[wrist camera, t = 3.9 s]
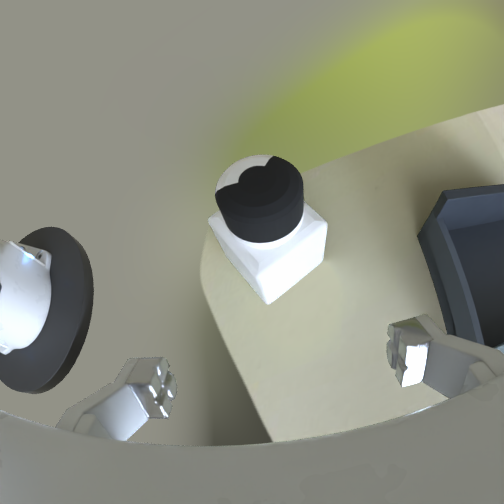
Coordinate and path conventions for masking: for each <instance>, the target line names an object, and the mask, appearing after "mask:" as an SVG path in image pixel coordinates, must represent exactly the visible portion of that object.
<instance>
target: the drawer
mask: <svg viewBox="0 0 504 504" xmlns="http://www.w3.org/2000/svg"><path fill="white" fill-rule="evenodd" d="M417 237H418V240H419V243H420V245H421V248H422V251H423V253H424V256H425V259H426V262H427V265H428V268H429V271H430V274H431V277H432V280H433V283H434V286H435V290H436V293H437V296H438V300H439V303H440V307H441V310H442V314H443V318H444V322H445V326H446V330H447V334H448V335H449V334H450V335H453V336H456V337H459V338H463V339H466V340H469V341H472V342H475V343H479V344H482V345H485V346H488V347H492V348H495V349H498V350H500V351H501V352H502V353H503V354H504V184H501V185H491V186H481V187H472V188H463V189H454V190H445V191H443V192H442V194H441V195H440V197H439V199H438V201H437V203H436V205H435V206H434V208H433V210H432V212H431V213H430V215H429V217H428V219H427V220H426V222H425V224H424V225H423V227H422V229H421V231H420V232H419V234H418V235H417Z"/></svg>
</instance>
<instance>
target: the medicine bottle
mask: <svg viewBox="0 0 504 504" xmlns="http://www.w3.org/2000/svg"><path fill="white" fill-rule="evenodd" d="M215 198H216V202H217V205H218V207H219V209H220V210H219V211H217V212H216V213H214V214H213V215H212V216H210V217H209V218H208V222H209V224H210V226H211V228H212V230H213V232H214V234H215V236H216V238H217V240H218V242H219V243H220V245H221V247H222V249H223V251H224V253H225V255H226V257H227V258H228V259H229V260H230V262H231V263H232V264H233V265H234V266H235V268H236V269H237V270H238V271H239V272H240V274H241V275H242V276H243V277H244V278H245V280H246V281H247V282H248V283H249V284H250V286H251V287H252V288H253V289H254V290H255V292H256V293H257V294H258V295H259V296H260V298H261V299H262V300H263V301H264V302H265V303H266V304H271V303H272V302H273V301H274V300H276V299H277V298H278V297H279V296H281V295H282V294H283V293H284V292H286V291H287V290H288V289H289V288H291V287H292V286H293V285H294V284H296V283H297V282H298V281H299V280H301V279H302V278H303V277H304V276H305V275H307V274H308V273H309V272H310V271H312V270H313V269H314V268H315V267H316V266H318V265H319V264H320V263H321V262H322V261H323V256H324V248H325V241H326V233H327V222H326V220H324V219H323V218H322V217H321V216H320V215H319V214H318V213H317V212H316V211H314V210H313V209H312V208H311V207H310V206H309V205H308V204H307V203H305V202H304V194H303V180H302V177H301V175H300V173H299V172H298V170H297V169H296V168H295V167H294V166H293V165H292V164H291V163H289V162H288V161H286V160H284V159H282V158H279V157H276V156H272V155H254V156H249V157H246V158H243V159H241V160H239V161H237V162H235V163H234V164H232V165H231V166H229V168H227V170H226V171H225V172H224V173H223V174H222V175H221V177H220V178H219V180H218V182H217V185H216V189H215Z"/></svg>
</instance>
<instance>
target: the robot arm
mask: <svg viewBox="0 0 504 504" xmlns="http://www.w3.org/2000/svg"><path fill="white" fill-rule="evenodd" d="M51 258H52V256H51V253H49V252H47V251H45V250H42V249H38V248H34V247H31V246H27V245H24V244H20V243H17V242H13V241H8V242H6V241H4V240H0V352H1V353H3V354H5V355H6V354H8V353H10V352H11V351H12V350H13V349H22V348H25V347H27V346H29V345H30V344H31V343H32V342H33V341H34V340H35V339H36V338H37V336H38V335H39V333H40V331H41V330H42V328H43V326H44V323H45V321H46V318H47V315H48V311H49V307H50V301H51V279H50V265H51ZM387 334H388V336H389V337H390V340H389V341H388V343H387V350H386V352H387V359H388V362H389V364H390V366H391V368H393V369H395V370H396V375H395V376H396V377H397V379H398V381H399V383H400V385H401V387H404V386H408V385H411V384H415V383H418V382H421V381H423V383H425V384H427V385H428V386H430V387H432V388H433V389H435V390H437V391H438V392H440V393H442V394H443V395H445V396H447V397H448V398H450V399H448V400H445V401H443V402H440V403H438V404H435V405H433V406H430V407H427V408H425V409H422V410H419V411H416V412H413V413H410V414H407V415H404V416H401V417H398V418H395V419H391V420H388V421H384V422H381V423H377V424H373V425H369V426H365V427H361V428H357V429H353V430H348V431H344V432H339V433H334V434H329V435H323V436H318V437H312V438H305V439H298V440H291V441H283V442H274V443H264V444H251V445H234V446H179V445H161V444H148V443H138V442H129V441H126V440H127V439H128V438H129V437H130V436H131V435H132V434H133V433H134V432H136V431H137V430H138V429H139V428H140V427H141V426H142V425H143V424H144V423H145V422H146V421H147V420H148V418H157V419H160V418H162V419H163V418H164V419H167V418H169V415H170V412H171V409H172V404H171V401H172V400H173V399H175V397H176V394H177V383H176V379H175V377H174V375H173V374H172V373H171V372H169V371H168V369H169V367H170V365H169V363H168V361H167V359H166V358H164V357H154V358H130V359H128V360H127V361H126V363H125V365H124V366H123V368H122V369H121V371H120V373H119V374H118V376H117V378H116V379H115V381H114V383H109V384H108V385H106V386H104V387H103V388H101V389H100V390H98V391H97V392H95V393H93V394H91V395H90V396H88V397H87V398H85V399H83V400H82V401H80V402H78V403H77V404H75V405H73V406H72V407H70V408H68V409H67V410H66V411H65V413H64V414H63V416H62V418H61V419H60V420H59V422H58V424H57V425H56V427H51V426H48V425H44V424H40V423H37V422H34V421H30V420H27V419H24V418H21V417H18V416H15V415H12V414H10V413H7V412H4V411H2V410H0V504H504V354H503V353H502V352H501V351H500V350H498V349H495V348H492V347H488V346H485V345H482V344H479V343H475V342H472V341H469V340H466V339H463V338H459V337H456V336H453V335H450V334H449V335H445V333H444V332H443V331H442V330H441V329H440V328H439V327H438V326H437V325H436V324H435V322H434V321H433V320H432V319H431V318H430V317H429V316H428V315H427V314H422V315H419V316H416V317H413V318H410V319H407V320H403V321H399V322H396V323H392V324H389V326H388V332H387Z"/></svg>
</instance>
